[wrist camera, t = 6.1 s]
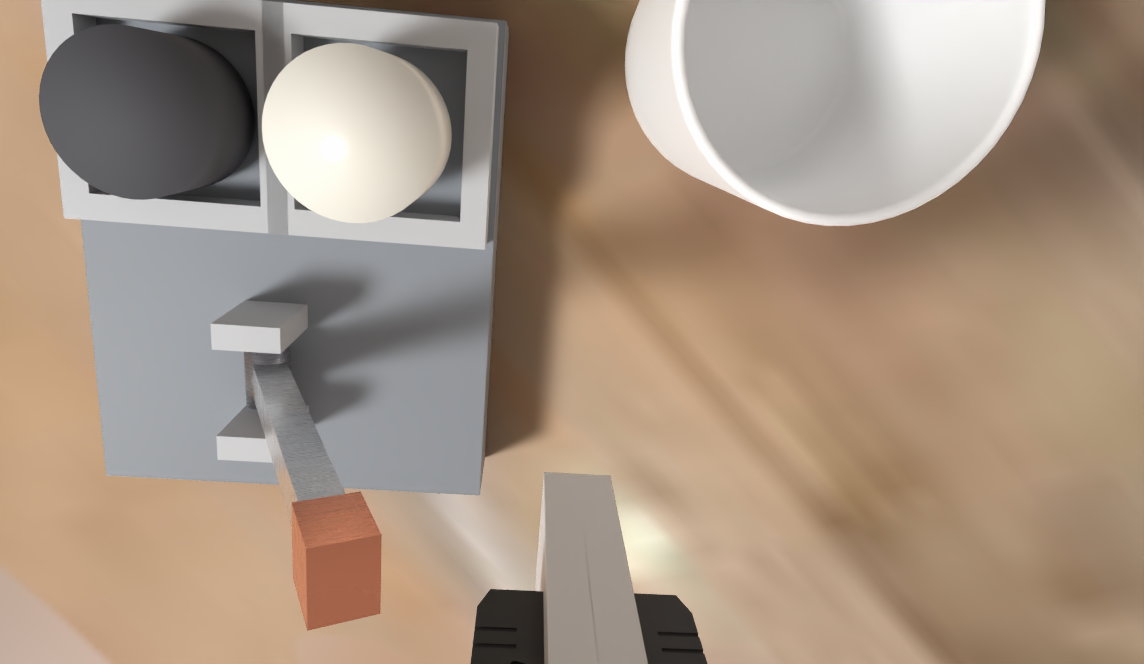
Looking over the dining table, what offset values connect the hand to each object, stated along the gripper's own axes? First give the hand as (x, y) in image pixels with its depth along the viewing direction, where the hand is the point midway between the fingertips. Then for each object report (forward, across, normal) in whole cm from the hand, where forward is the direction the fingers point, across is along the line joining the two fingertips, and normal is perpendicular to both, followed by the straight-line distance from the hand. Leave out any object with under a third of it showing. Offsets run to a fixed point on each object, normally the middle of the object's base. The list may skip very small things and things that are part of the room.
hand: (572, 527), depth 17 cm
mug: (+13, +6, +13) cm, 19 cm away
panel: (+12, -9, +4) cm, 16 cm away
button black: (+9, -12, +8) cm, 17 cm away
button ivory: (+8, -6, +8) cm, 13 cm away
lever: (+8, -10, 0) cm, 13 cm away
